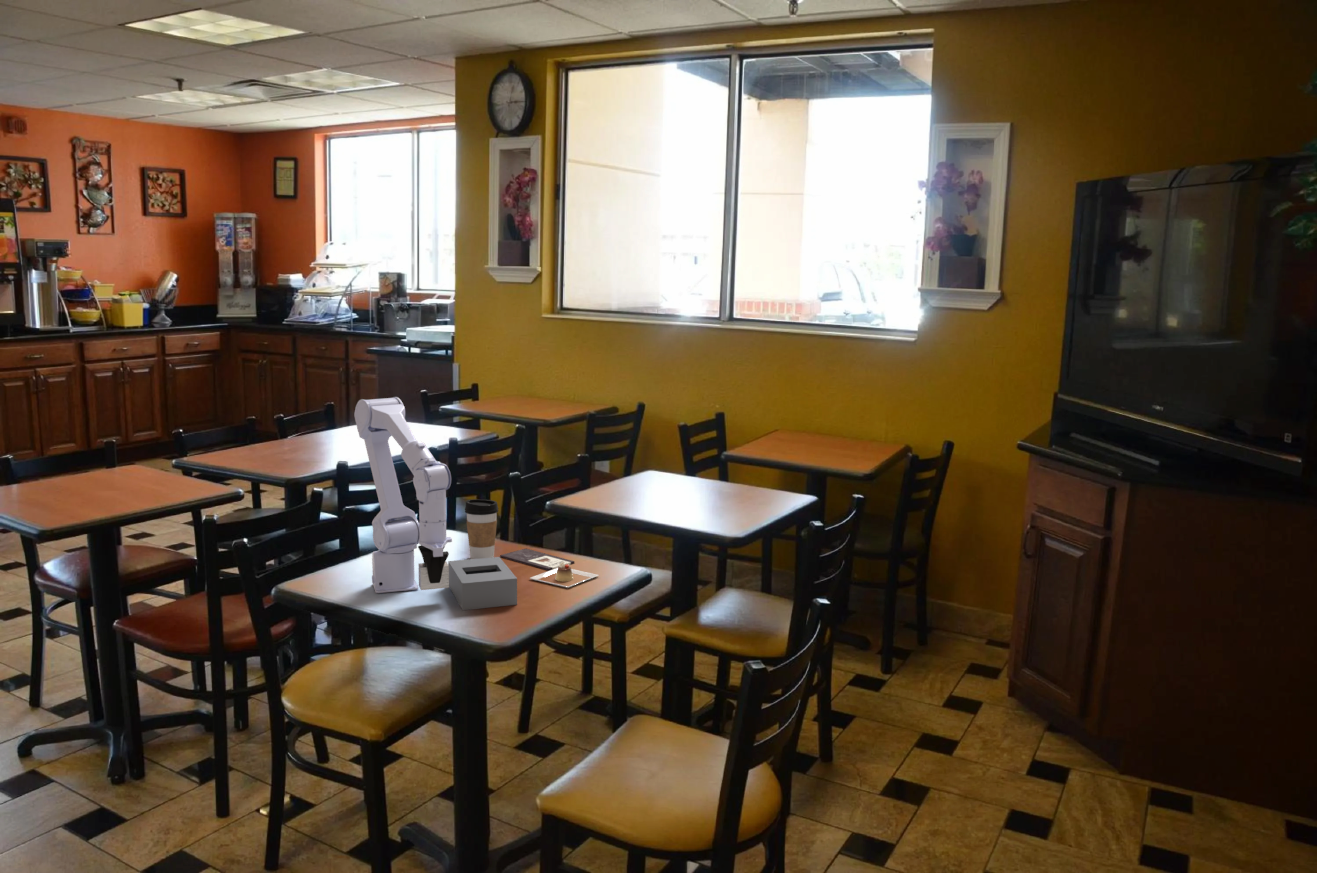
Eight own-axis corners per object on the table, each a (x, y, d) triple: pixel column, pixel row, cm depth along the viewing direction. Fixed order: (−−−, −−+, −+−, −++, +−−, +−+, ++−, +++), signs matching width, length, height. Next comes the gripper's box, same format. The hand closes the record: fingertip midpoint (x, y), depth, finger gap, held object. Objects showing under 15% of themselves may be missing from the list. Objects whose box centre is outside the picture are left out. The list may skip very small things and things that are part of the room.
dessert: (599, 579, 238) (599, 560, 237) (568, 591, 228) (568, 571, 228) (560, 570, 245) (560, 552, 244) (528, 582, 235) (528, 563, 234)
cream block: (421, 590, 214) (420, 568, 213) (418, 585, 217) (418, 563, 216) (448, 587, 216) (448, 565, 215) (446, 583, 219) (446, 561, 218)
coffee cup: (464, 554, 256) (463, 498, 253) (497, 553, 258) (497, 497, 255) (466, 563, 248) (465, 505, 245) (500, 561, 250) (499, 504, 247)
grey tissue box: (462, 610, 212) (462, 583, 211) (448, 586, 229) (448, 561, 228) (517, 604, 217) (517, 578, 216) (499, 581, 233) (499, 556, 232)
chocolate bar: (526, 548, 261) (574, 561, 249) (526, 551, 261) (574, 564, 250) (500, 555, 254) (548, 568, 243) (500, 558, 254) (548, 572, 243)
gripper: (457, 526, 209) (457, 588, 211) (445, 511, 222) (446, 569, 224) (423, 528, 206) (424, 591, 208) (413, 513, 220) (414, 571, 222)
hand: (433, 579), depth 216 cm, fingers closed on cream block, 3 cm apart
